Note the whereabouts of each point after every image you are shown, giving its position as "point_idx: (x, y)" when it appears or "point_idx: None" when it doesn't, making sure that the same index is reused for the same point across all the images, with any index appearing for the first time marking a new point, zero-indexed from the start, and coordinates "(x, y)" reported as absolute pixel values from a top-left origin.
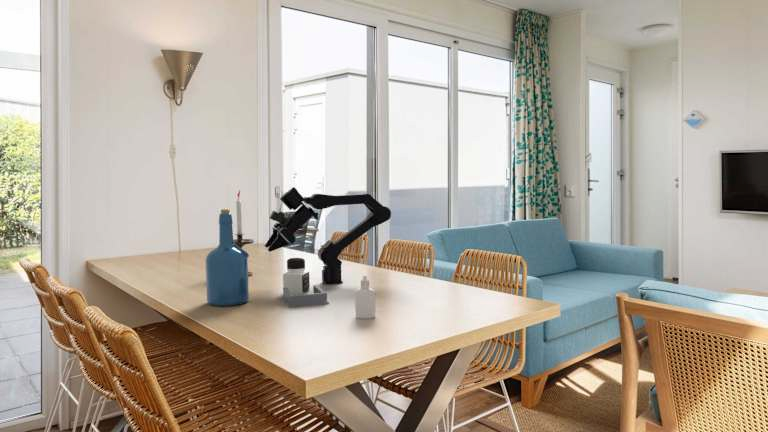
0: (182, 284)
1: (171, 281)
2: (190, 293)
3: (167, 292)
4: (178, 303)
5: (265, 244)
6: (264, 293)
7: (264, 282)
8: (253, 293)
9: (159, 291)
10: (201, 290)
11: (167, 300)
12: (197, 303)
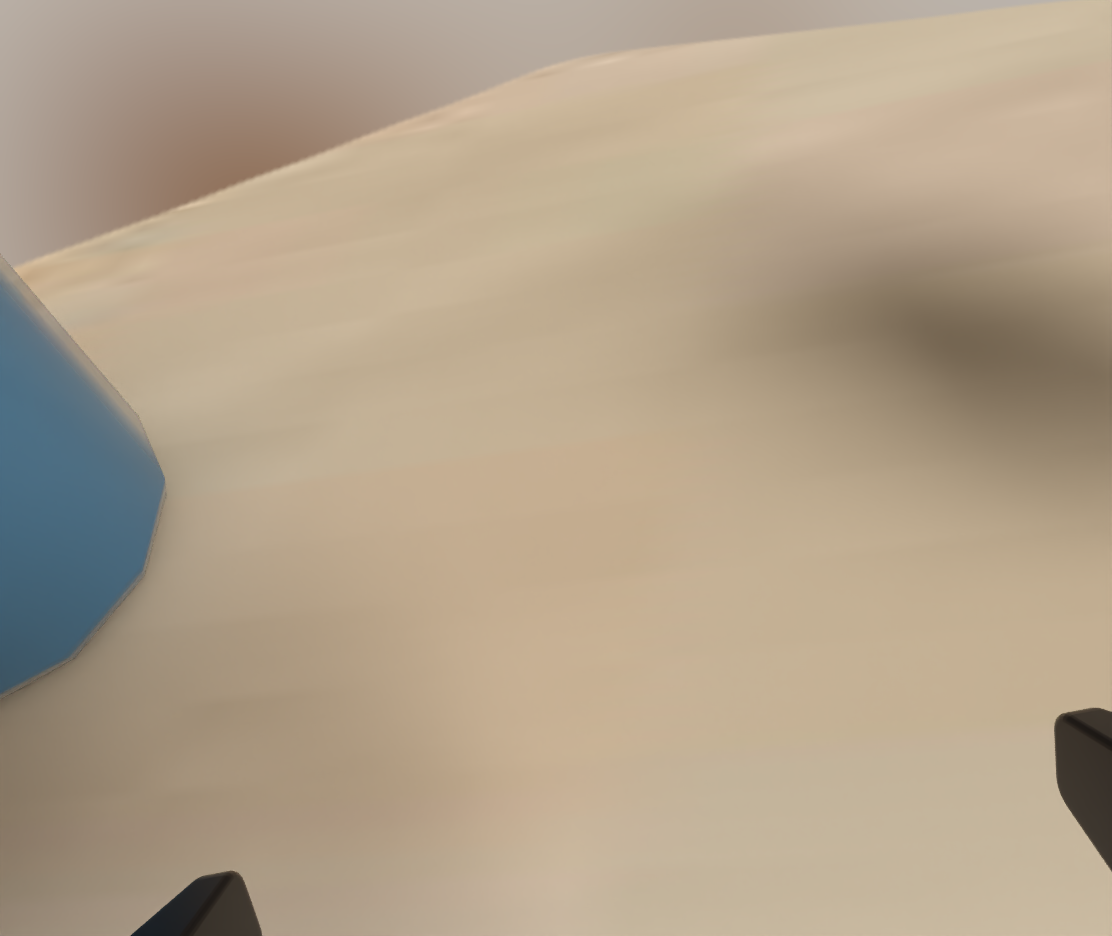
0: (882, 133)
1: (1012, 56)
2: (498, 244)
3: (579, 125)
4: (175, 250)
5: (1102, 725)
6: None
7: (1007, 854)
8: (290, 751)
9: (627, 85)
10: (600, 286)
11: (306, 180)
12: (104, 349)
